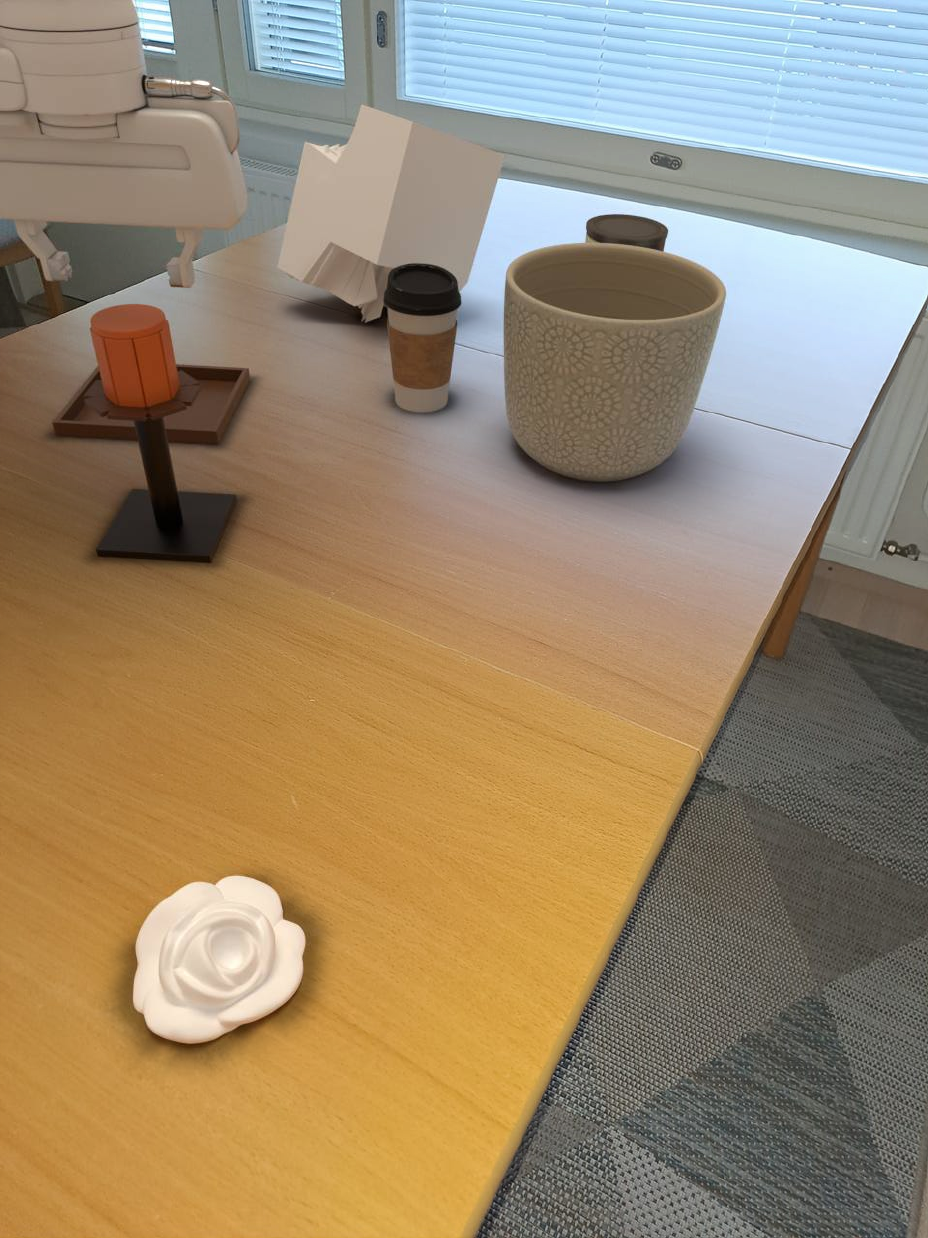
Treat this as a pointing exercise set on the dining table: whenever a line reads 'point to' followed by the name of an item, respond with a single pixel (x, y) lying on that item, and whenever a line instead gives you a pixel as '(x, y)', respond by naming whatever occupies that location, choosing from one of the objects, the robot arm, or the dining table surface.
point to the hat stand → (166, 511)
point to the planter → (605, 355)
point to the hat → (137, 366)
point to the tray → (186, 426)
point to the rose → (215, 959)
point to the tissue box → (386, 207)
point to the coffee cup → (421, 333)
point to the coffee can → (626, 231)
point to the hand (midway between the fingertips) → (121, 282)
